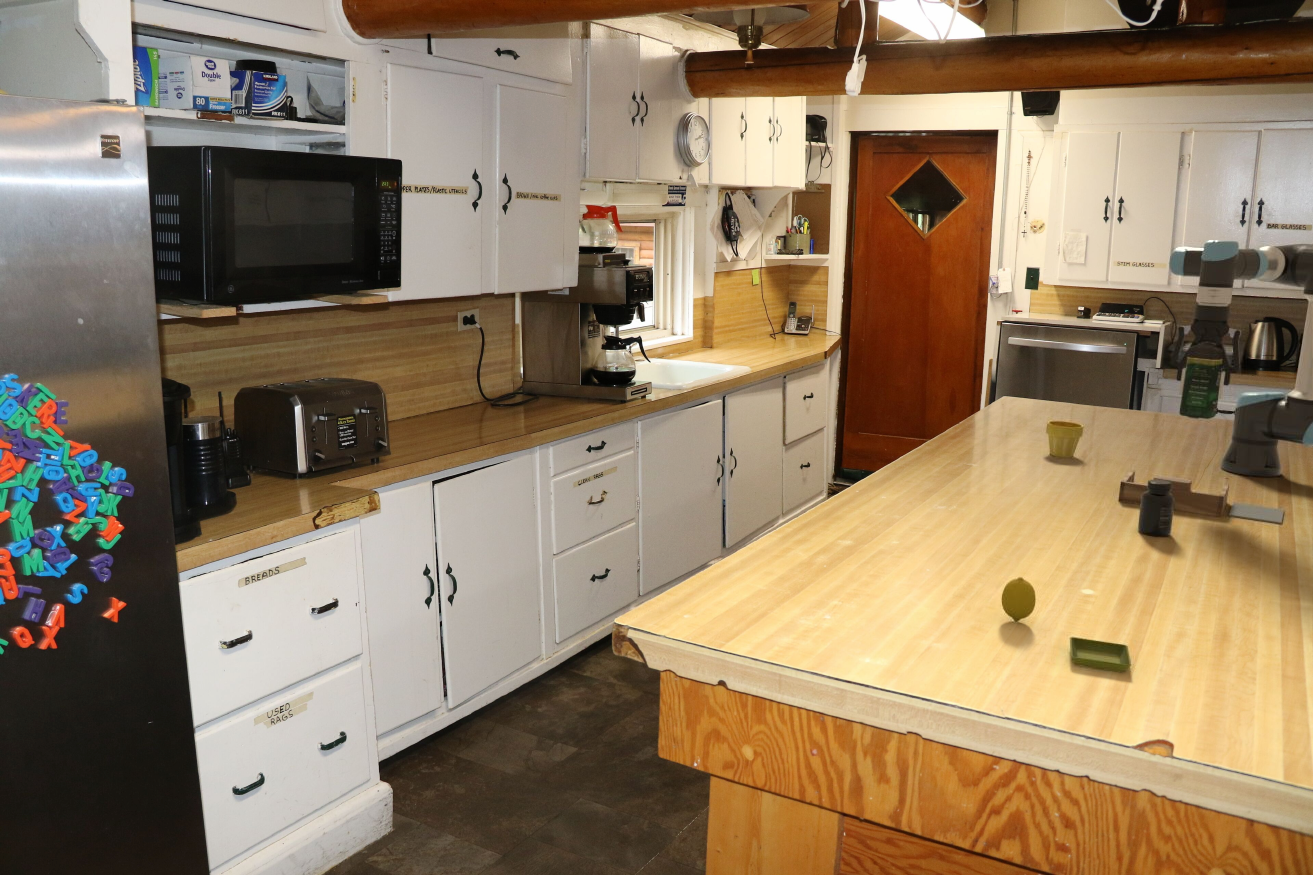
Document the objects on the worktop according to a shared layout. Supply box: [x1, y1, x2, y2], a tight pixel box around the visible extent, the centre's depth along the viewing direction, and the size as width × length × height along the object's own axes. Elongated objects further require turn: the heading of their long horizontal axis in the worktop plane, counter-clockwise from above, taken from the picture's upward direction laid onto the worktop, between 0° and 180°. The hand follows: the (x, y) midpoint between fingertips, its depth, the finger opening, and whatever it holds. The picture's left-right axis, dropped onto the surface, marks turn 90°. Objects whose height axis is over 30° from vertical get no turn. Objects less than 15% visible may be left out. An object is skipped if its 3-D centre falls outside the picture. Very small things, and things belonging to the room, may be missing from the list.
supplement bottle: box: [1137, 479, 1175, 538], centre depth 231 cm, size 7×7×12 cm
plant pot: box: [1045, 420, 1084, 459], centre depth 309 cm, size 10×10×10 cm
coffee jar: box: [1179, 342, 1224, 420], centre depth 255 cm, size 10×8×19 cm
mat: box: [1228, 501, 1285, 525], centre depth 251 cm, size 14×11×1 cm
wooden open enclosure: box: [1118, 469, 1230, 518], centre depth 259 cm, size 16×23×5 cm
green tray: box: [1069, 636, 1132, 673], centre depth 162 cm, size 9×9×2 cm
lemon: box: [1001, 576, 1037, 622], centre depth 177 cm, size 6×6×8 cm
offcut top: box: [1152, 474, 1193, 491], centre depth 255 cm, size 4×8×2 cm, turn 54°
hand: (1200, 396), depth 255 cm, fingers closed on coffee jar, 8 cm apart
